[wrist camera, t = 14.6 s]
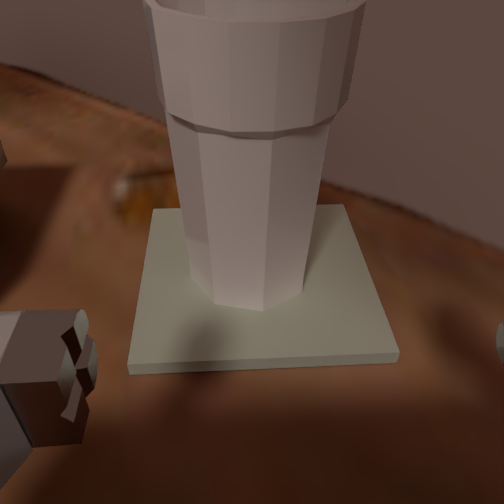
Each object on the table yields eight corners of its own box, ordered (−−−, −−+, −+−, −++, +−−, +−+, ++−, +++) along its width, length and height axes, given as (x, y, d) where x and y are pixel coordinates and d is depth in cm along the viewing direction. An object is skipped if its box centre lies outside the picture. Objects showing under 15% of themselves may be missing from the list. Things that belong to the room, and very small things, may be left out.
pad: (129, 374, 18) (127, 364, 17) (154, 218, 26) (153, 209, 25) (396, 362, 18) (400, 352, 18) (341, 213, 26) (343, 204, 26)
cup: (232, 210, 25) (228, -33, 18) (349, 256, 22) (397, -10, 15) (142, 282, 21) (93, -1, 14) (274, 350, 18) (295, 37, 11)
